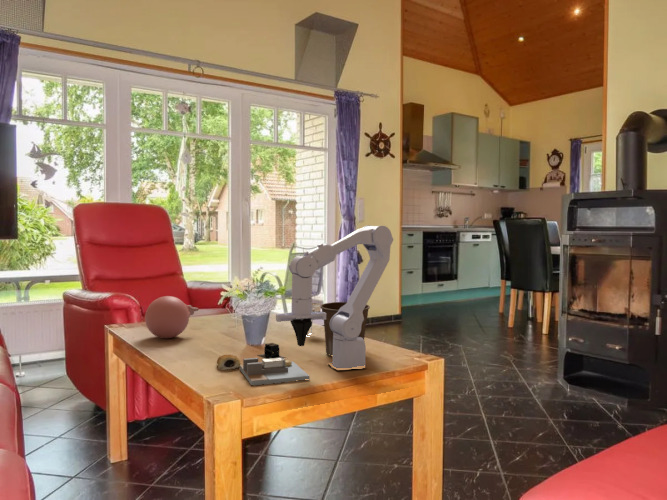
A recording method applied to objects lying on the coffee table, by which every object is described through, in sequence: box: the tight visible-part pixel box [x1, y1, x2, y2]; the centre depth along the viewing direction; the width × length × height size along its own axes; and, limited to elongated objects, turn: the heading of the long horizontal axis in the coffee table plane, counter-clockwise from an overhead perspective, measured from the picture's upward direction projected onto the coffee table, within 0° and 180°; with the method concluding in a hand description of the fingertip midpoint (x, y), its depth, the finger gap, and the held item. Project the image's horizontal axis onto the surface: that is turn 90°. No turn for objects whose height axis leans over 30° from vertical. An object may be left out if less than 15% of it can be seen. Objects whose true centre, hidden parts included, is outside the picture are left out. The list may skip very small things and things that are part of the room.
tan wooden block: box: [261, 358, 286, 369], centre depth 148 cm, size 6×3×3 cm, turn 111°
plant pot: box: [320, 301, 371, 355], centre depth 173 cm, size 16×16×16 cm
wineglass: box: [308, 302, 322, 335], centre depth 202 cm, size 7×7×12 cm
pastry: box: [216, 354, 242, 371], centre depth 157 cm, size 9×7×4 cm
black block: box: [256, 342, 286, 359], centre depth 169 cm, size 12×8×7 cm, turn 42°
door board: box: [239, 357, 310, 386], centre depth 148 cm, size 16×16×4 cm
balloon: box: [144, 295, 199, 339], centre depth 194 cm, size 15×20×15 cm
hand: (300, 345), depth 151 cm, fingers closed
